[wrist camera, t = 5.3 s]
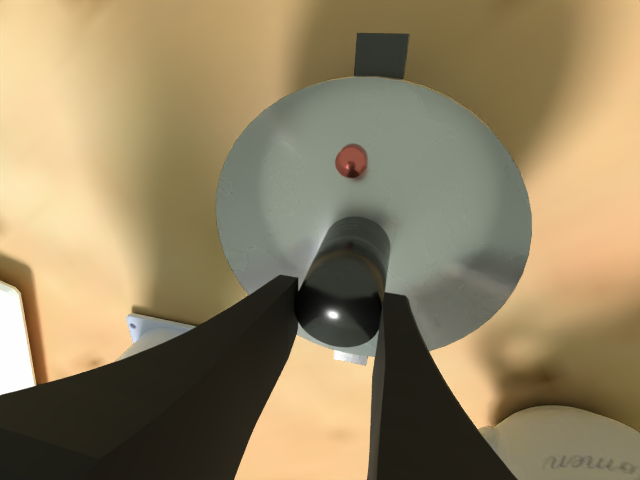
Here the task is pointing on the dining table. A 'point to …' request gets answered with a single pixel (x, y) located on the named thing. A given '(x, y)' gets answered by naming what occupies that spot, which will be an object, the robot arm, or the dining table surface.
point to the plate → (14, 343)
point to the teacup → (565, 445)
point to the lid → (375, 210)
